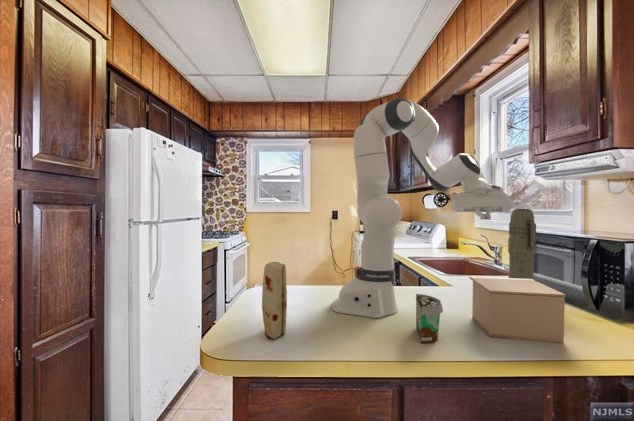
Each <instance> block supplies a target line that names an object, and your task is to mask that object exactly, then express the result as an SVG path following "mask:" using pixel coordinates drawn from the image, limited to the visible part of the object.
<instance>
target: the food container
mask: <svg viewBox="0 0 634 421" xmlns="http://www.w3.org/2000/svg"><path fill="white" fill-rule="evenodd" d="M415 300H416V304H415V307H416V308H415V312H416V313H415V323H416V324H415V326H416V327H415V328H416V329H415V330H416V333H417V336H418V339H419V342H420V344H421V345H422V344H424V345H426V344H434V343H436V342H437V341H438V340H439V339H438V338H439V327H440V317H441V313H443V311H444V308H443V304H442V303H441V300H440V299H439V298H436V297H434V296H431V295H427V294H420V293H416V295H415Z"/></svg>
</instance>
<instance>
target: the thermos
mask: <svg viewBox="0 0 634 421" xmlns="http://www.w3.org/2000/svg"><path fill="white" fill-rule="evenodd" d="M533 212H534V211H533V210H532V209H531V208H515V209H513V210H512V212H511V214H510V222H509V223H508V232H509V233H508V234H509V236H508V241H507V243H508V244H507V245H508V246H507V247H508V248H507V252H508V254H509V261H508V262H509V264H508V265H509V266H508V267H509V268H508V269H509V271H508V277H507V278H520V279H533V280H535V279H534V273H535V270H534V269H535V268H534V265H535V264H534V263H535V255H536V247H537V246H536V242H537V224H536V222H535V214H534V213H533Z"/></svg>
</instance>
